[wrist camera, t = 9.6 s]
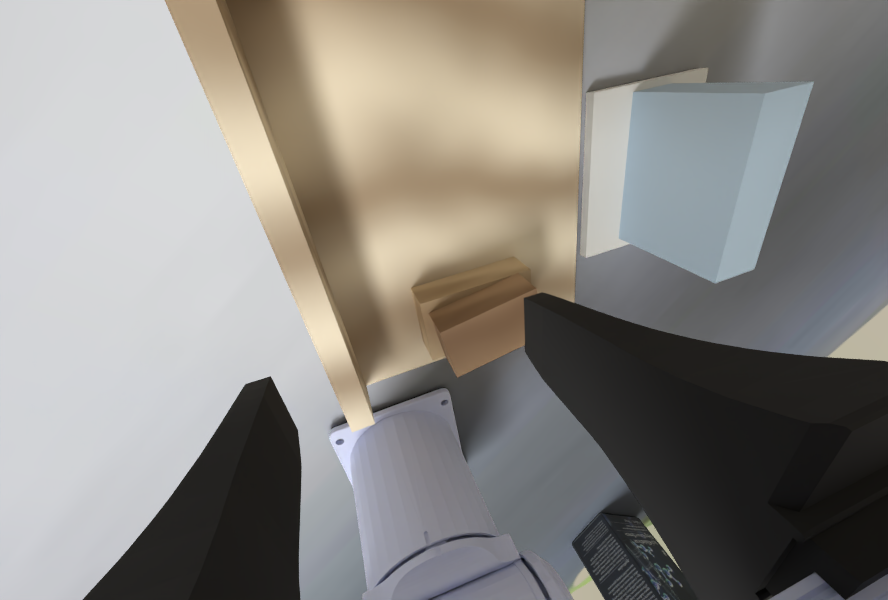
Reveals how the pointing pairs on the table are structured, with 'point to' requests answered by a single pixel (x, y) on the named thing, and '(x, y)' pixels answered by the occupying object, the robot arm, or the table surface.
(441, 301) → the oak offcut
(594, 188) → the felt pad
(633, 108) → the pale blue block
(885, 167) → the table surface
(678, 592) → the box
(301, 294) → the pale wood shallow tray
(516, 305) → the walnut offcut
